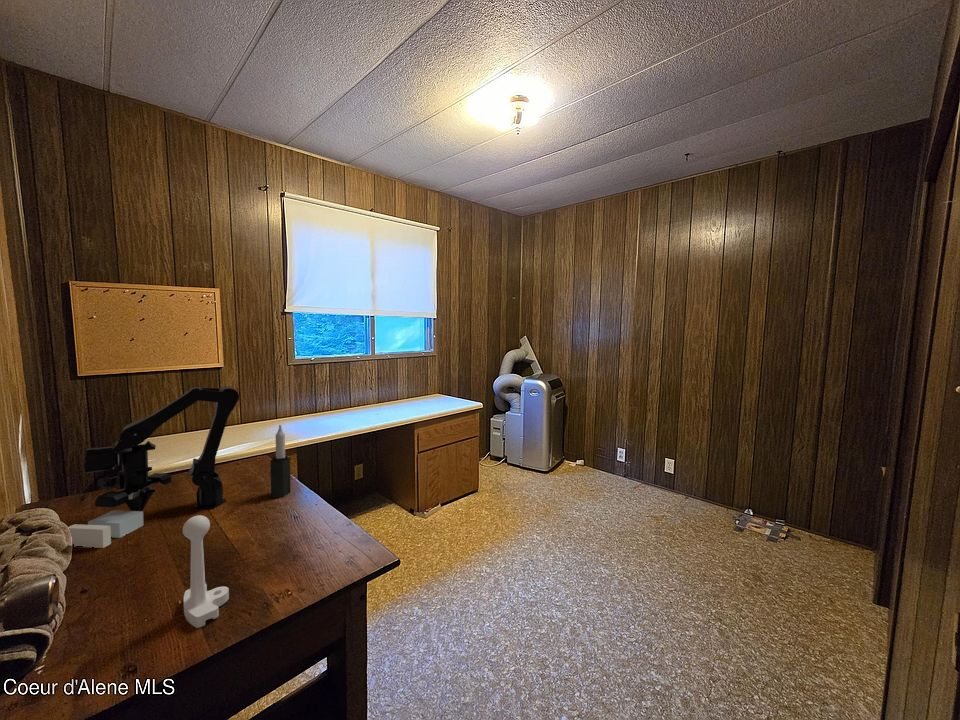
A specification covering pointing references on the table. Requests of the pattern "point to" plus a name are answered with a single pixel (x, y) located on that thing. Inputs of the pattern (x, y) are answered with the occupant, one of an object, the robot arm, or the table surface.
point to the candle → (280, 468)
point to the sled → (120, 522)
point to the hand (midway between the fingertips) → (137, 516)
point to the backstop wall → (90, 535)
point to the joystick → (200, 578)
